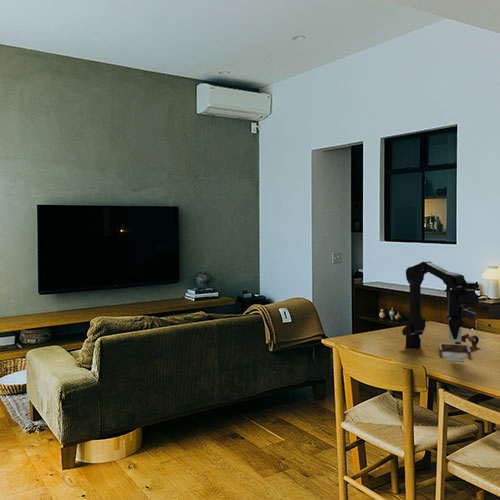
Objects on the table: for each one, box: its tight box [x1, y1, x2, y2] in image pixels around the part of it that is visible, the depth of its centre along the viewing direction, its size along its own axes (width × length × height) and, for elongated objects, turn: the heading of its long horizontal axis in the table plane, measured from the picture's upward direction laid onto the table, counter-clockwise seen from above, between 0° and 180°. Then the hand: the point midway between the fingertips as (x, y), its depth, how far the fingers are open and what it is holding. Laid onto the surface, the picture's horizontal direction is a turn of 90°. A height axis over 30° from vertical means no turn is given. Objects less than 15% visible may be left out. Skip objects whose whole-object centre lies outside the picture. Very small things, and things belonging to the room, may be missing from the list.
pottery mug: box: [454, 333, 480, 351], centre depth 249 cm, size 12×10×8 cm
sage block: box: [448, 327, 463, 343], centre depth 227 cm, size 5×5×6 cm
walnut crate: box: [438, 342, 472, 359], centre depth 238 cm, size 13×13×3 cm
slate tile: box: [445, 356, 465, 363], centre depth 228 cm, size 7×7×1 cm
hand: (454, 337), depth 227 cm, fingers closed on sage block, 5 cm apart
